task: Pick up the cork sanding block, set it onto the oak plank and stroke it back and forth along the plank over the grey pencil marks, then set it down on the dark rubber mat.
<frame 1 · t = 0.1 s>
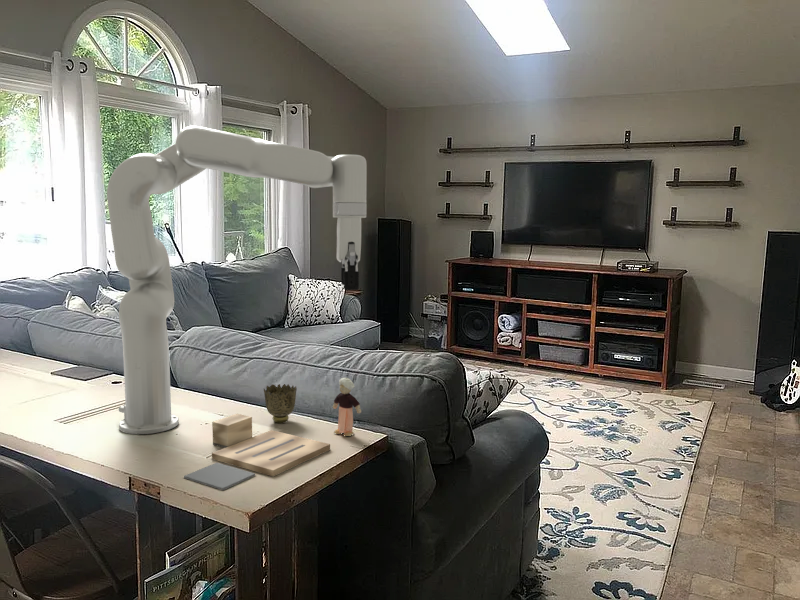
hand: (349, 287, 158), 31 cm above the table, tool pointing down, fingers open, 9 cm apart
grandmother figurine: (346, 435, 152), on the table
plank: (272, 454, 140), on the table
sanding block: (232, 442, 147), on the table
cup: (280, 422, 161), on the table
mat: (219, 476, 128), on the table
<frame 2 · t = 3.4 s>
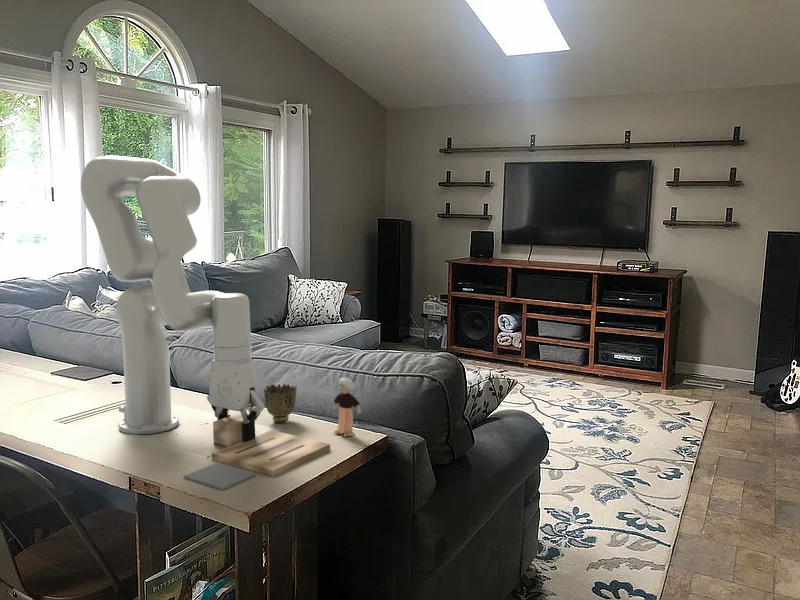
hand: (236, 436, 146), 1 cm above the table, tool pointing down, fingers open, 6 cm apart
nothing on the table moved.
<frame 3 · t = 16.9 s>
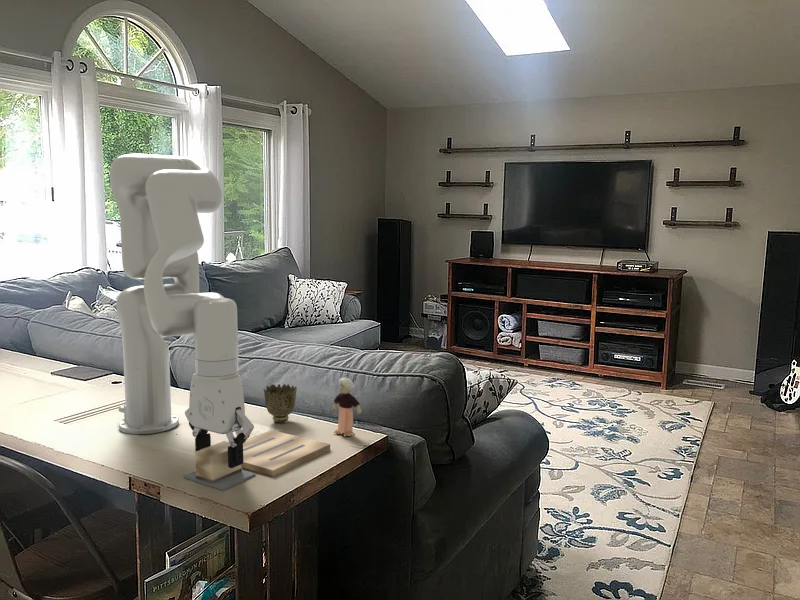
hand: (219, 460, 127), 3 cm above the table, tool pointing down, fingers open, 7 cm apart
sanding block: (219, 474, 128), resting on mat
everything else where it was.
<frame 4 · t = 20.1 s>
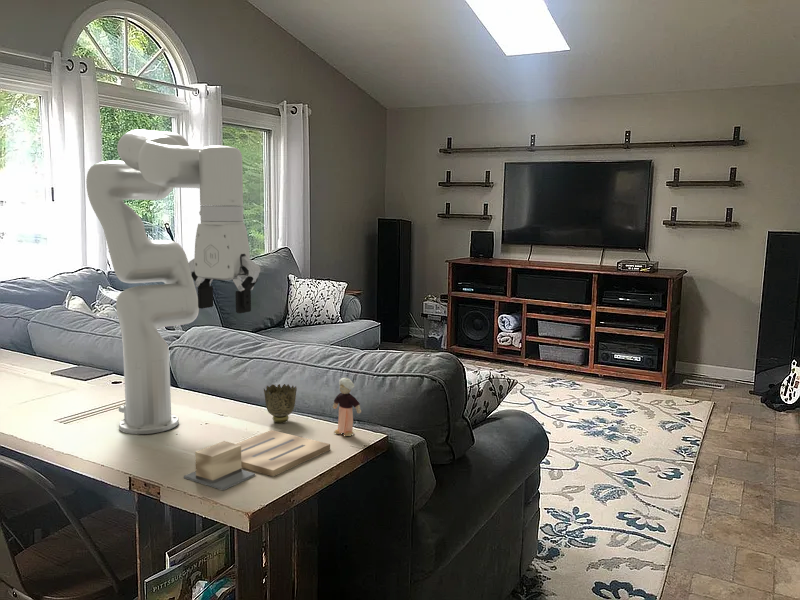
hand: (224, 309, 128), 30 cm above the table, tool pointing down, fingers open, 9 cm apart
nothing on the table moved.
at the end: sanding block inside the target area on the mat (0.1 cm from its centre), point 0.4 cm above the mat's base; sanding block tilted 0°; the gripper is holding nothing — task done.
